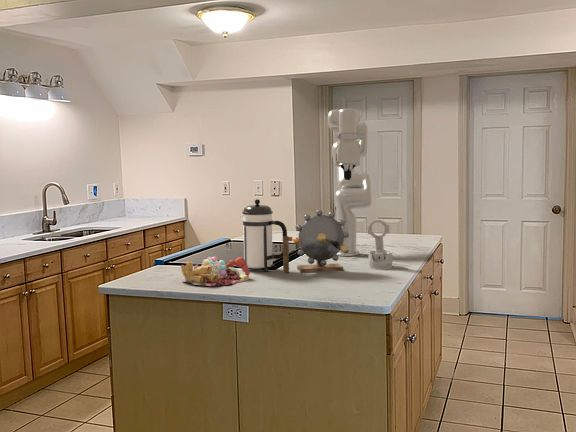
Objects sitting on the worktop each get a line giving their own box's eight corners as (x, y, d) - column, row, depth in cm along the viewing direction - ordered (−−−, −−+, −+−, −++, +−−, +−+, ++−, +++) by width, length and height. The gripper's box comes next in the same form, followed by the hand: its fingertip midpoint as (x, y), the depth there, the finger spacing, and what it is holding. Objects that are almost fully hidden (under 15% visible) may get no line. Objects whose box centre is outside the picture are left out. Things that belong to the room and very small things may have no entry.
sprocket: (313, 276, 250) (358, 243, 252) (320, 281, 239) (366, 247, 241) (282, 231, 245) (327, 198, 247) (287, 235, 234) (334, 200, 237)
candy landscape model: (219, 290, 218) (218, 265, 217) (170, 283, 230) (169, 260, 229) (257, 277, 240) (256, 254, 239) (210, 271, 252) (210, 250, 250)
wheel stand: (338, 266, 257) (337, 232, 255) (343, 270, 249) (343, 234, 248) (281, 269, 253) (280, 234, 251) (284, 273, 245) (283, 236, 243)
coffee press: (250, 274, 243) (249, 201, 239) (235, 268, 257) (234, 198, 254) (288, 270, 251) (287, 199, 247) (271, 264, 265) (270, 196, 262)
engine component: (390, 269, 250) (393, 265, 259) (390, 221, 248) (394, 218, 257) (364, 268, 253) (369, 263, 263) (364, 220, 251) (369, 217, 261)
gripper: (333, 137, 254) (333, 180, 256) (366, 137, 257) (366, 179, 259) (328, 137, 261) (328, 179, 263) (361, 137, 264) (361, 179, 266)
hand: (347, 179), depth 261 cm, fingers closed
